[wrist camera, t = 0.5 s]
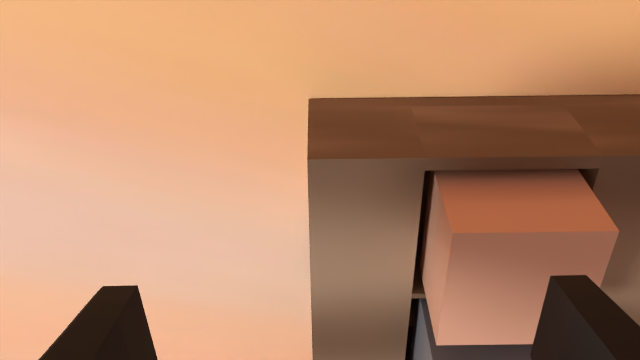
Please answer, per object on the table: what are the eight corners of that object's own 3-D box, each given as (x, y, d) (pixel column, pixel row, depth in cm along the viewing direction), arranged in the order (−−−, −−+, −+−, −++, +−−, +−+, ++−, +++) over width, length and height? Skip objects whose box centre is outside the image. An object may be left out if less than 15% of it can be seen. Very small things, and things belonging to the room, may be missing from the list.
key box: (556, 392, 27) (586, 468, 24) (315, 395, 27) (315, 472, 24) (657, 94, 19) (721, 154, 16) (308, 98, 19) (307, 159, 16)
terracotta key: (543, 265, 19) (580, 343, 17) (419, 267, 19) (436, 345, 16) (571, 160, 17) (619, 231, 14) (431, 162, 17) (452, 233, 14)
